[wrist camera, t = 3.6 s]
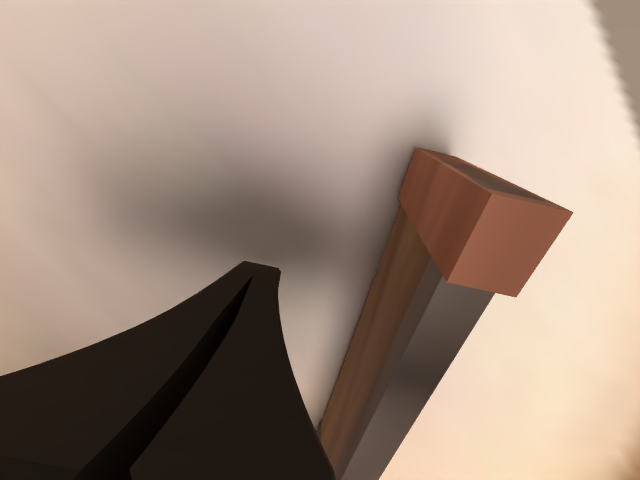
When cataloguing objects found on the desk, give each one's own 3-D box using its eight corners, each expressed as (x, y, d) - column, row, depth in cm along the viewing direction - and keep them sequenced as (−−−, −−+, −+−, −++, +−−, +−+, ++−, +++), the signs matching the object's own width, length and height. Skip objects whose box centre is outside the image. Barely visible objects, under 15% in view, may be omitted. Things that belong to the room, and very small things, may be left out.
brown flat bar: (314, 432, 17) (303, 561, 12) (414, 146, 9) (491, 193, 4) (336, 437, 17) (334, 566, 12) (455, 155, 9) (573, 212, 5)
